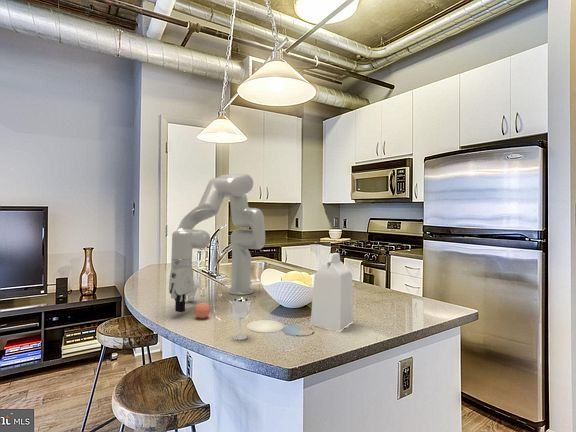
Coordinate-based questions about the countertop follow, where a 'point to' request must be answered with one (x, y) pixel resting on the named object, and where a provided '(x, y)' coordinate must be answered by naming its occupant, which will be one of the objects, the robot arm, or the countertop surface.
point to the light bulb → (192, 293)
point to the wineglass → (240, 314)
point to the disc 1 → (265, 326)
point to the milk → (332, 295)
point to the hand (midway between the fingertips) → (180, 311)
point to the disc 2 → (291, 329)
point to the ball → (202, 310)
